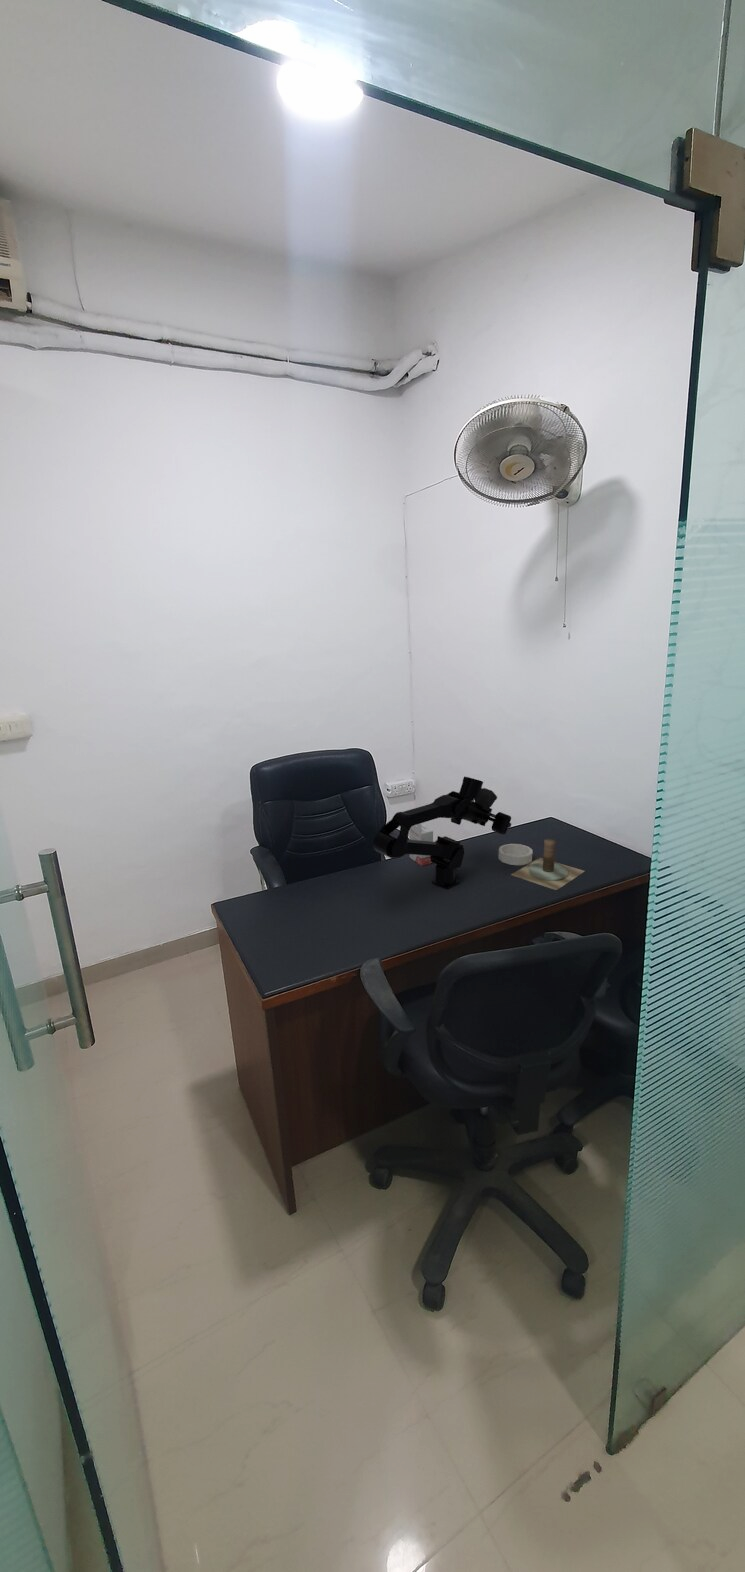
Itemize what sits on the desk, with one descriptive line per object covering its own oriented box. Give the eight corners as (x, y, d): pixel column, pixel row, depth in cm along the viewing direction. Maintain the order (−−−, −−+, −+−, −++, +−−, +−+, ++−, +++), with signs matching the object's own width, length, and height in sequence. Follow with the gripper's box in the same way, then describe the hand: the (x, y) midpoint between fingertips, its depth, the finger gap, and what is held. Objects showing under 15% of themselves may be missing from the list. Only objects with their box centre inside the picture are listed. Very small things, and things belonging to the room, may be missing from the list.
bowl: (520, 868, 197) (520, 859, 197) (492, 859, 205) (492, 850, 204) (538, 858, 205) (538, 849, 204) (510, 849, 212) (510, 841, 211)
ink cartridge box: (433, 863, 203) (434, 822, 199) (421, 866, 201) (420, 825, 197) (421, 854, 211) (421, 814, 206) (408, 857, 209) (408, 817, 204)
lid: (555, 884, 185) (557, 851, 182) (521, 873, 193) (523, 841, 190) (574, 872, 193) (577, 840, 190) (541, 861, 201) (542, 831, 198)
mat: (556, 891, 182) (556, 890, 182) (510, 875, 193) (510, 874, 193) (584, 871, 194) (584, 871, 194) (540, 858, 205) (540, 857, 205)
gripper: (501, 796, 181) (531, 806, 191) (458, 780, 195) (487, 790, 205) (488, 830, 182) (518, 839, 192) (446, 812, 196) (476, 820, 206)
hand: (500, 820), depth 199 cm, fingers open, 9 cm apart
